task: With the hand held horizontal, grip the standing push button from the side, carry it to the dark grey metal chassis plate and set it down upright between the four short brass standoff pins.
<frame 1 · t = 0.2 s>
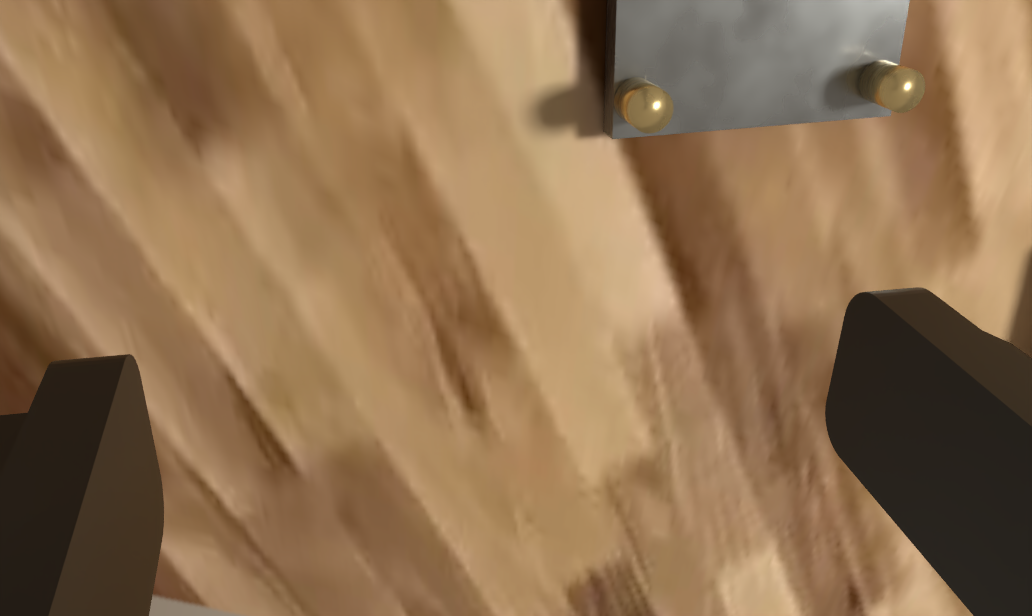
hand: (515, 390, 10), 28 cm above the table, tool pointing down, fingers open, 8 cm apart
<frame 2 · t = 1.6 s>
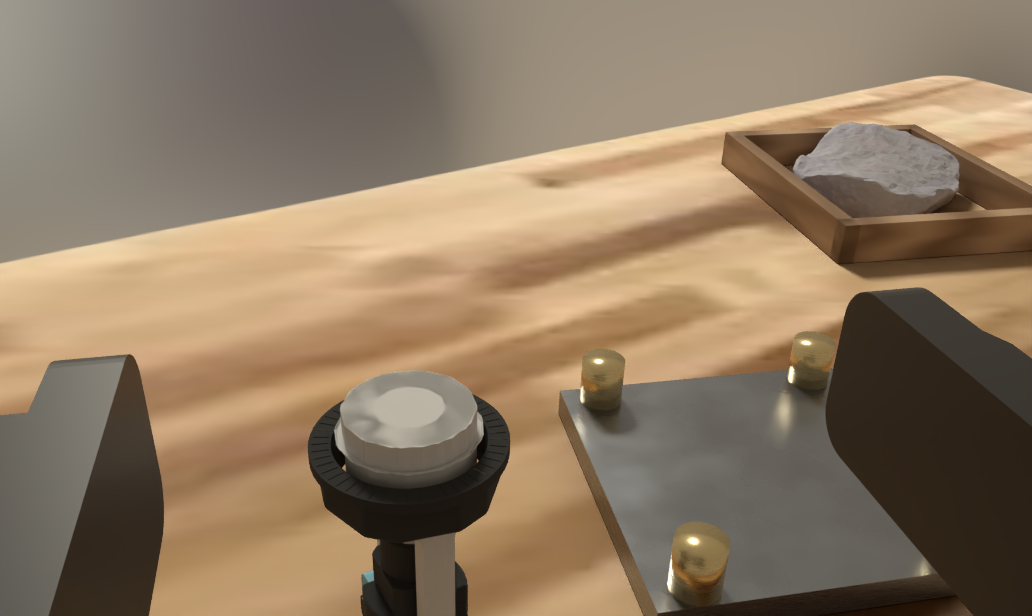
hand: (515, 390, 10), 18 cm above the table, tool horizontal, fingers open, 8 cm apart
chassis: (755, 490, 37), on the table
block coaster frame: (877, 201, 65), on the table
stone block: (874, 205, 66), on the table
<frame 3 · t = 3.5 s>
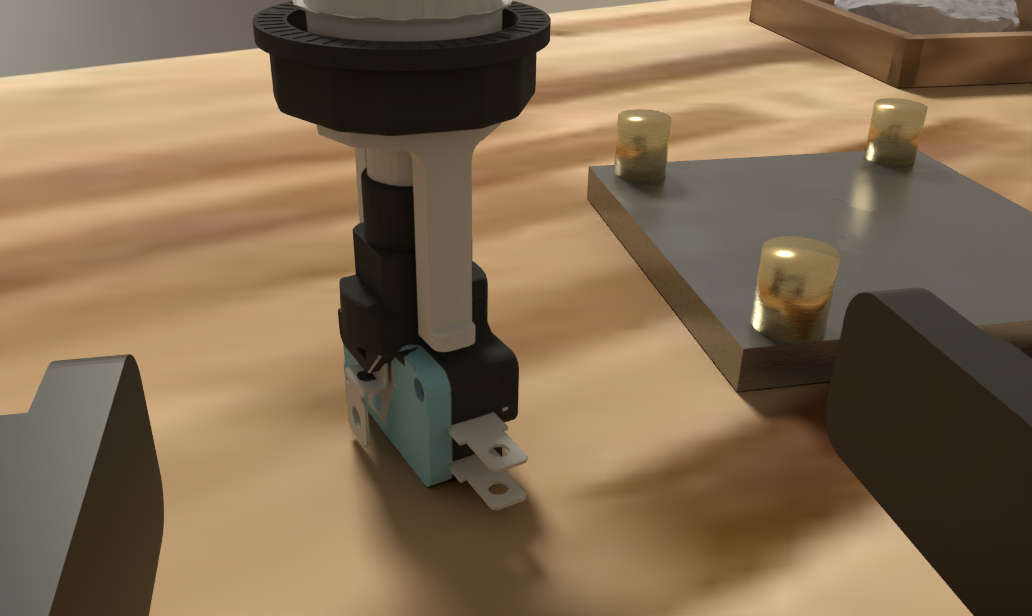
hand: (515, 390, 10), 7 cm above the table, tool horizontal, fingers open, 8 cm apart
chassis: (841, 259, 29), on the table
block coaster frame: (930, 45, 58), on the table
push button: (432, 446, 21), on the table
stone block: (923, 51, 59), on the table
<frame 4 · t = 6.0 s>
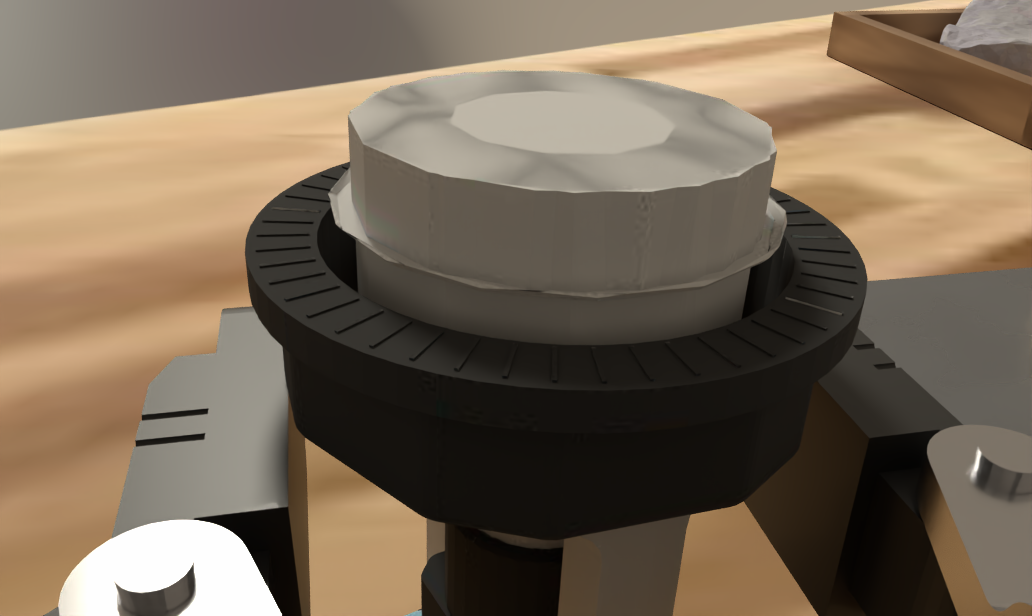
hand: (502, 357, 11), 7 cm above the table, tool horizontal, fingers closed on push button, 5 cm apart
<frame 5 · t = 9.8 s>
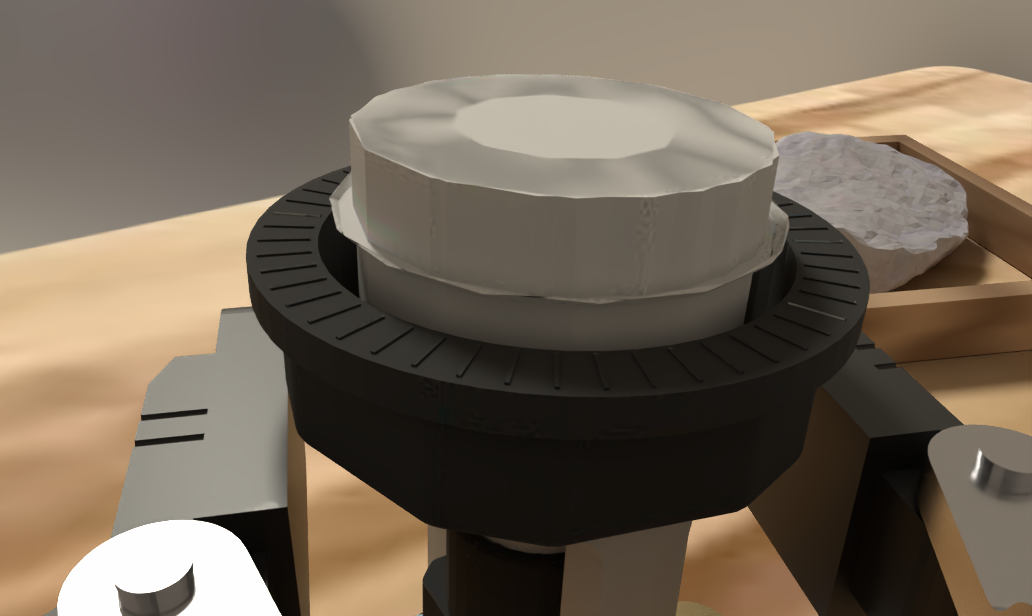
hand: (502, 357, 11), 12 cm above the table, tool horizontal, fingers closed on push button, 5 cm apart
block coaster frame: (849, 254, 43), on the table
stone block: (842, 257, 44), on the table
when the fingers open (8 cm above the table, at t = 11.2 s): push button stays where it is, resting on chassis.
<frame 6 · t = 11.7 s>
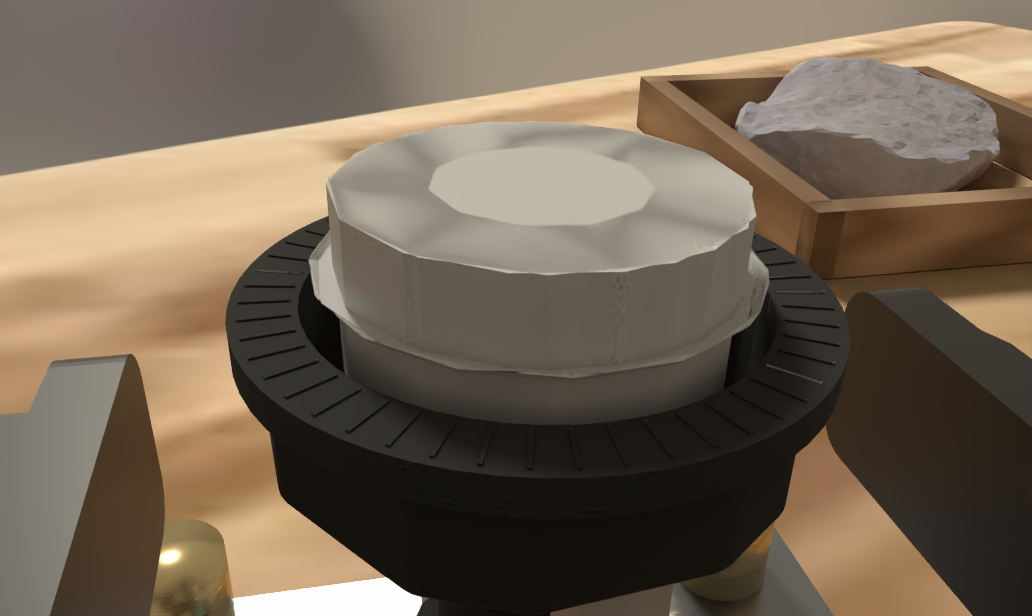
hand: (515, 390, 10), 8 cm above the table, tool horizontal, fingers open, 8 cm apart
block coaster frame: (874, 177, 41), on the table
stone block: (866, 182, 42), on the table
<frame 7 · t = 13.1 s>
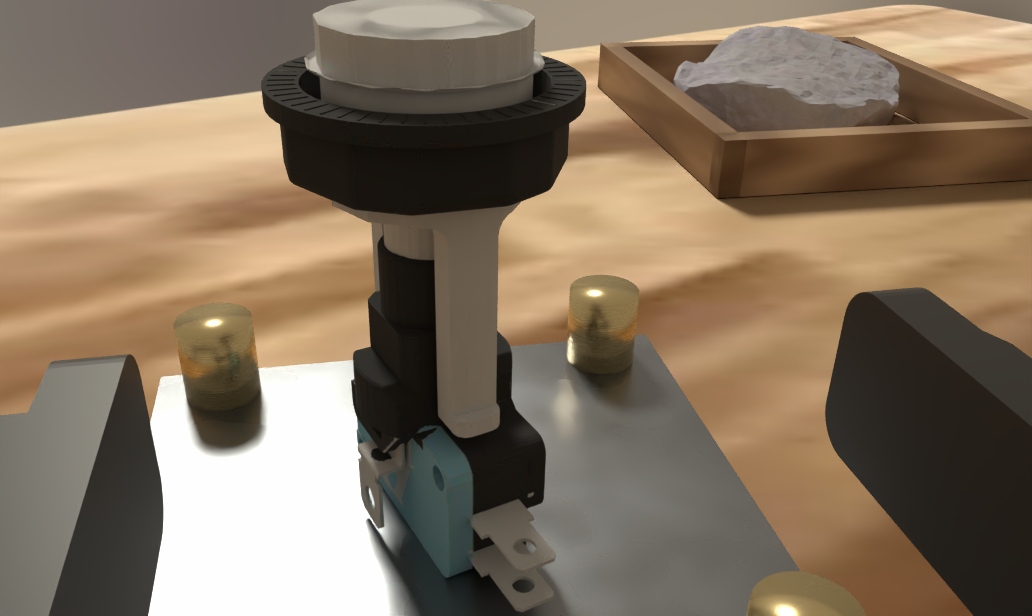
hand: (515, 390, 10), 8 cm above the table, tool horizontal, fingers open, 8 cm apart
chassis: (449, 557, 20), on the table
block coaster frame: (794, 126, 48), on the table
push button: (450, 526, 19), point 1 cm above the table, touching chassis
stone block: (788, 131, 49), on the table
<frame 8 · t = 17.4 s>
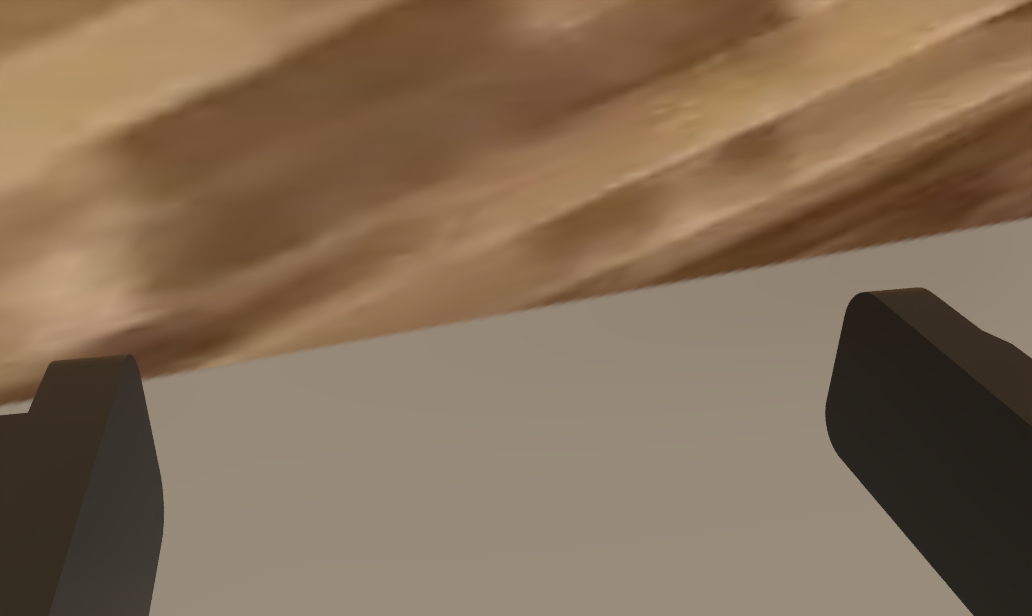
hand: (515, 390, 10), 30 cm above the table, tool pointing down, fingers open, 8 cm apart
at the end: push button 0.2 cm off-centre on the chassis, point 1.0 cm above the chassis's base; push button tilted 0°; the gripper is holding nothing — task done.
